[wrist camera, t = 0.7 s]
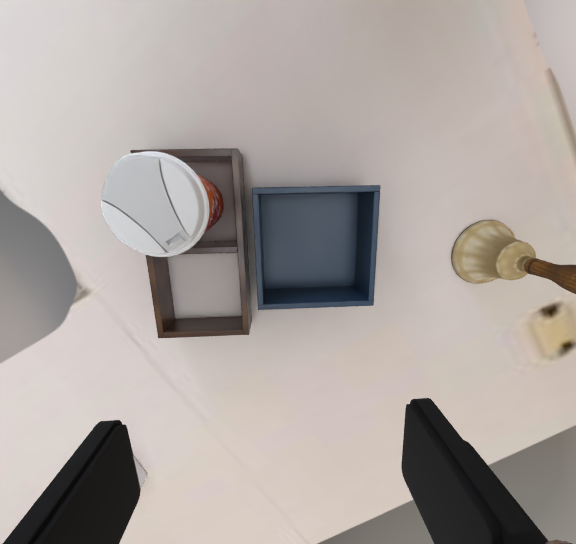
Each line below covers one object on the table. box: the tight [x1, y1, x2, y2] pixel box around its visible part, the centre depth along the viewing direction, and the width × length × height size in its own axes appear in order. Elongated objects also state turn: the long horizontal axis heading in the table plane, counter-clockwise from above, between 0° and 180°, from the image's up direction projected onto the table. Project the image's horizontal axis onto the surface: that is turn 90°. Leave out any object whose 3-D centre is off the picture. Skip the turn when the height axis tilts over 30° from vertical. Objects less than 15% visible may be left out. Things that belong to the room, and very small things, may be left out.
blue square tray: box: [252, 185, 380, 310], centre depth 32 cm, size 13×13×6 cm
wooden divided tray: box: [131, 149, 252, 338], centre depth 33 cm, size 20×11×4 cm, turn 1°
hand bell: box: [452, 220, 576, 294], centre depth 29 cm, size 8×8×16 cm
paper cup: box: [101, 151, 224, 257], centre depth 27 cm, size 8×8×14 cm
